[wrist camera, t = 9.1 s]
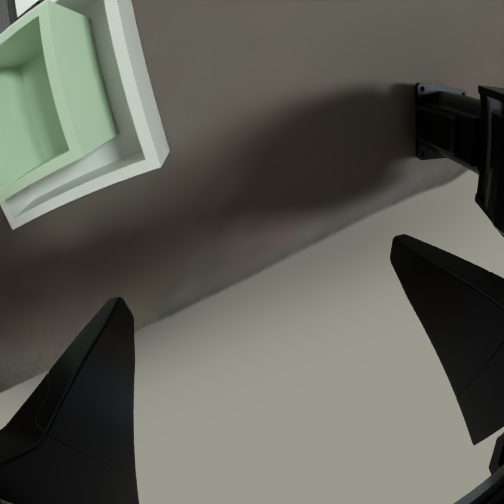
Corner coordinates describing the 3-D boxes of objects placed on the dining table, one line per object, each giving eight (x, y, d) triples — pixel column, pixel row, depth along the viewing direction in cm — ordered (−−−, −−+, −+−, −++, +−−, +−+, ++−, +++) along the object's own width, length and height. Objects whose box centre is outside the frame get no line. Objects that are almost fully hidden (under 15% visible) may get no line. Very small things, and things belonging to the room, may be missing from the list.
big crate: (128, -16, 9) (111, -35, 6) (169, 150, 17) (161, 167, 14) (-7, 66, 9) (-37, 71, 6) (36, 205, 17) (12, 229, 14)
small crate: (91, 19, 10) (47, 0, 5) (119, 133, 15) (83, 157, 10) (18, 64, 10) (-35, 70, 5) (46, 167, 15) (1, 202, 10)
